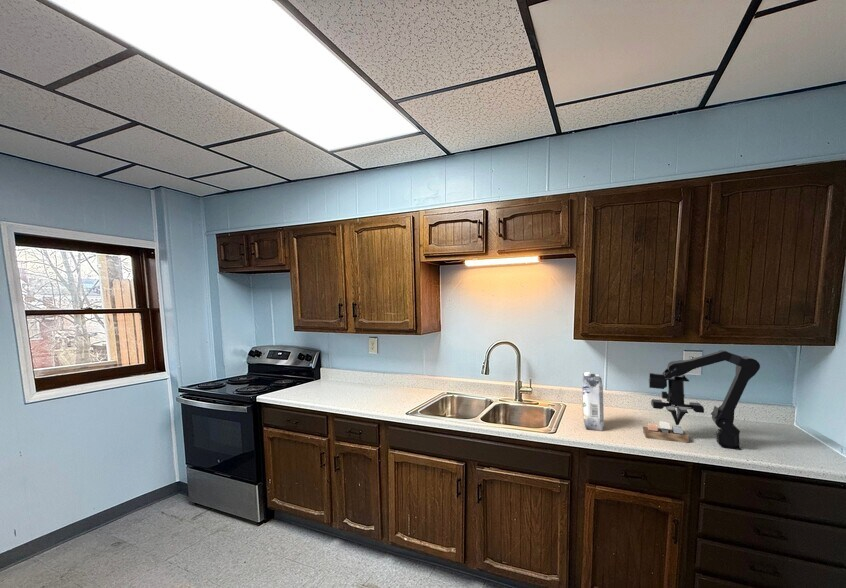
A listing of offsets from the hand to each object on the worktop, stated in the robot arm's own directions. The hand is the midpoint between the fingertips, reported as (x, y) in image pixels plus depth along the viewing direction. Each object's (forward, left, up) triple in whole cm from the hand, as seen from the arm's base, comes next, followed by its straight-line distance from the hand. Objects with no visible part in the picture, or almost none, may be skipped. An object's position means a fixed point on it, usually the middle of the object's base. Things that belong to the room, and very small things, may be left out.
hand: (677, 424), depth 159 cm
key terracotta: (+9, 0, -6) cm, 11 cm away
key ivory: (+5, 0, -4) cm, 7 cm away
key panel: (+5, 0, -6) cm, 8 cm away
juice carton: (+34, -3, -6) cm, 35 cm away
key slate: (0, 0, -6) cm, 6 cm away
